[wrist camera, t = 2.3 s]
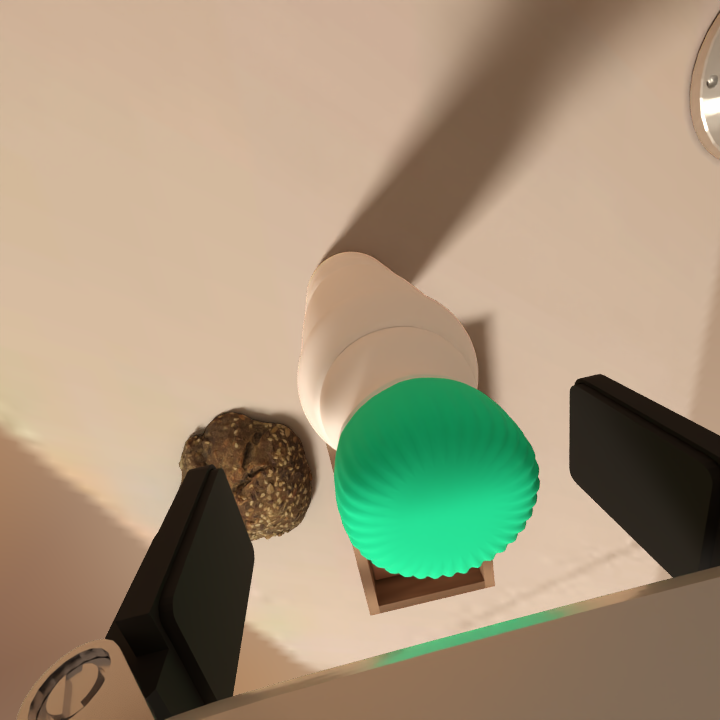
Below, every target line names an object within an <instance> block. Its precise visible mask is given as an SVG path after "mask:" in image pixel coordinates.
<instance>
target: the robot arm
mask: <svg viewBox="0 0 720 720" xmlns="http://www.w3.org/2000/svg"><path fill="white" fill-rule="evenodd" d="M690 111H691V116H692V121H693V126H694V129H695V131H696V133H697V136H698V138H699V140H700V142H701V143H702V144H703V146H704V147H705V149H706V150H707V151H708V152H709V153H710V154H712V155H713V156H714V157H715V158H717V159H719V160H720V14H719V15H718V16H717V18H716V20H715V21H714V23H713V25H712V26H711V28H710V30H709V31H708V33H707V35H706V37H705V40H704V42H703V44H702V46H701V49H700V51H699V53H698V57H697V60H696V64H695V67H694V71H693V75H692V82H691V89H690ZM569 468H570V473H571V476H572V478H573V480H574V481H575V482H576V483H577V484H578V485H579V486H580V487H581V488H582V489H583V490H584V491H585V492H586V493H587V494H588V495H589V496H590V497H591V498H592V499H593V500H594V501H595V502H596V503H597V504H598V505H599V506H600V507H601V508H602V509H603V510H604V511H605V512H606V513H607V514H608V515H609V516H610V517H611V518H613V519H614V520H615V521H616V522H617V523H618V524H619V525H620V526H621V527H622V528H623V529H624V530H625V531H626V532H627V533H628V534H629V535H630V536H631V537H632V538H633V539H634V540H635V541H636V542H637V543H638V544H639V545H640V546H641V547H642V548H643V549H644V550H645V551H646V552H647V553H648V554H649V555H650V556H651V557H652V558H653V559H654V560H656V561H657V562H658V563H659V564H660V565H661V566H662V567H663V568H664V569H665V570H666V571H667V572H668V573H669V574H670V575H671V576H672V577H673V578H671V579H667V580H663V581H659V582H655V583H651V584H647V585H643V586H640V587H636V588H632V589H628V590H624V591H620V592H616V593H612V594H608V595H605V596H601V597H597V598H593V599H589V600H585V601H581V602H578V603H574V604H570V605H566V606H562V607H559V608H555V609H551V610H547V611H543V612H540V613H536V614H532V615H528V616H524V617H521V618H517V619H513V620H509V621H505V622H502V623H498V624H494V625H490V626H487V627H483V628H479V629H475V630H472V631H468V632H464V633H460V634H456V635H453V636H449V637H445V638H441V639H438V640H434V641H430V642H426V643H423V644H419V645H415V646H412V647H408V648H404V649H401V650H397V651H393V652H390V653H386V654H382V655H378V656H375V657H371V658H367V659H364V660H360V661H356V662H353V663H349V664H345V665H342V666H338V667H334V668H330V669H327V670H323V671H319V672H316V673H312V674H308V675H305V676H301V677H298V678H295V679H291V680H287V681H284V682H281V683H277V684H274V685H271V686H267V687H263V688H260V689H256V690H253V691H250V692H246V693H243V694H239V695H236V696H233V691H234V685H235V679H236V673H237V666H238V660H239V653H240V648H241V641H242V635H243V629H244V622H245V616H246V610H247V604H248V597H249V591H250V585H251V579H252V572H253V566H254V549H253V546H252V543H251V540H250V538H249V535H248V532H247V530H246V527H245V524H244V522H243V519H242V517H241V514H240V511H239V509H238V506H237V503H236V501H235V498H234V495H233V493H232V490H231V488H230V485H229V482H228V480H227V477H226V474H225V472H224V470H223V469H222V468H219V469H216V467H215V466H214V465H213V464H211V465H206V466H202V467H198V468H194V469H190V470H189V471H188V472H187V474H186V476H185V478H184V480H183V482H182V484H181V486H180V488H179V490H178V492H177V494H176V496H175V499H174V501H173V503H172V505H171V507H170V509H169V511H168V513H167V515H166V517H165V519H164V521H163V523H162V525H161V527H160V530H159V532H158V533H157V534H156V536H155V537H154V539H153V541H152V543H151V545H150V547H149V549H148V551H147V554H146V556H145V558H144V560H143V562H142V564H141V566H140V568H139V570H138V572H137V574H136V576H135V578H134V580H133V582H132V584H131V586H130V588H129V590H128V592H127V594H126V597H125V598H124V601H123V603H122V605H121V607H120V609H119V611H118V613H117V615H116V617H115V619H114V621H113V623H112V625H111V627H110V629H109V631H108V633H107V635H106V637H105V639H99V640H93V641H90V642H88V643H86V644H83V645H81V646H78V647H77V648H75V649H73V650H72V651H70V652H69V653H67V654H66V655H64V656H63V657H61V658H60V659H59V660H58V661H57V662H56V663H54V665H52V666H51V667H50V668H49V669H48V670H47V671H46V672H45V673H44V674H43V675H42V676H41V677H40V678H39V680H38V681H37V682H36V683H35V684H34V685H33V687H32V689H31V690H30V691H29V693H28V695H27V696H26V698H25V699H24V701H23V703H22V705H21V708H20V710H19V713H18V715H17V720H720V436H719V435H717V434H715V433H714V432H711V431H710V430H708V429H706V428H704V427H702V426H700V425H698V424H696V423H694V422H692V421H691V420H689V419H687V418H685V417H683V416H681V415H679V414H677V413H675V412H673V411H671V410H669V409H667V408H666V407H664V406H662V405H660V404H658V403H656V402H654V401H652V400H650V399H648V398H646V397H644V396H643V395H641V394H639V393H637V392H635V391H633V390H631V389H629V388H627V387H625V386H623V385H621V384H620V383H618V382H616V381H614V380H612V379H610V378H608V377H606V376H604V375H601V374H598V375H593V376H589V377H585V378H580V379H578V380H576V382H575V385H574V386H572V387H571V389H570V449H569Z"/></svg>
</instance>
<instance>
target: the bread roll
mask: <svg viewBox="0 0 720 720" xmlns="http://www.w3.org/2000/svg"><path fill="white" fill-rule="evenodd" d="M304 454H305V453H304V451H303V448H302V443H301V441H300V440H299V438H298V437H297V436H296V435H295V434H294V432H293V431H292V430H290V429H289V428H288V427H286V426H284V425H282V424H277V423H264V422H259V421H256V420H251V419H250V418H248V417H247V416H245V415H242V414H238V413H233V412H229V413H225V414H222V415H220V416H218V417H216V418H215V419H214V420H213V421H212V422H211V423H210V424H209V425H208V426H207V428H206V430H205V432H204V434H203V435H201V436H198V435H196V436H194V437H191V438H189V439H188V440H187V441H186V442H185V446H184V450H183V452H182V456H181V460H180V462H179V467H180V469H181V471H182V481H181V484H182V482H183V480H184V478H185V476H186V474H187V472H188V471H189V470H190V469H194V468H198V467H202V466H206V465H211V464H213V465H214V466H215V467H216V469H219V468H222V469H223V470H224V472H225V474H226V477H227V480H228V482H229V485H230V488H231V490H232V493H233V495H234V498H235V501H236V503H237V506H238V509H239V511H240V514H241V517H242V519H243V522H244V524H245V527H246V530H247V532H248V535H249V538H250V540H251V541H253V540H257V539H259V538H262V537H265V538H266V539H267V540H268V539H269V538H271V537H272V536H276V535H278V536H282V534H284V532H287V533H288V532H289V531H291V530H292V529H294V528H295V527H297V526H298V525H299V524H300V523H301V522H302V520H303V519H304V516H305V514H306V512H307V509H308V507H309V504H310V501H311V498H310V497H311V486H310V481H311V480H312V474H311V473H310V469H309V467H308V463H307V461H306V459H305V456H304ZM180 486H181V485H180ZM179 488H180V487H179Z"/></svg>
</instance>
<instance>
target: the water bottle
mask: <svg viewBox="0 0 720 720" xmlns="http://www.w3.org/2000/svg"><path fill="white" fill-rule="evenodd" d="M297 383H298V393H299V397H300V402H301V405H302V408H303V410H304V413H305V415H306V417H307V419H308V421H309V422H310V424H311V426H312V427H313V429H314V430H315V431H316V432H317V434H318V435H319V436H320V437H321V438H322V439H323V440H324V441H325V442H326V443H327V444H328V445H329V446H331V447H332V448H333V449H335V450H336V456H335V467H334V481H335V492H336V501H337V506H338V510H339V513H340V515H341V519H342V524H343V526H344V528H345V531H346V532H347V534H348V536H349V538H350V541H351V543H352V544H353V546H354V547H356V548H357V549H359V551H360V553H361V555H362V556H363V557H365V558H366V559H368V560H371V561H372V563H373V564H374V565H376V566H377V567H379V568H385V570H386V571H388V572H389V573H391V574H397V573H400V574H401V575H402V576H404V577H411V576H415V577H417V578H418V579H424V578H425V577H427V576H429V577H431V578H433V579H437V578H439V577H440V576H442V575H445V576H447V577H452V576H453V575H454V574H455V573H457V572H459V573H462V574H465V573H467V572H468V570H469V569H470V568H471V567H475V568H479V567H480V566H481V565H482V563H483V561H491V560H493V559H494V557H495V554H496V553H501V552H504V551H505V550H506V547H507V544H509V543H512V542H514V541H515V540H516V538H517V535H518V533H519V532H521V531H522V530H524V529H525V526H526V520H528V519H529V518H530V517H531V516H532V511H533V509H532V507H533V506H534V505H535V504H536V502H537V494H536V493H537V491H538V490H539V485H540V480H539V478H538V474H539V466H538V464H537V462H536V459H535V453H534V451H533V448H532V446H531V444H530V443H529V442H528V440H527V439H526V437H525V436H524V434H523V432H522V431H521V430H520V428H519V427H518V426H517V424H516V423H515V422H514V421H513V420H512V419H511V418H510V417H509V416H508V414H507V413H506V412H505V411H504V410H503V409H502V408H501V407H500V406H499V405H498V404H497V403H495V402H494V401H493V400H492V399H491V398H489V397H488V396H487V395H485V394H484V393H482V392H481V391H479V390H477V388H478V364H477V358H476V353H475V350H474V347H473V344H472V341H471V339H470V337H469V335H468V333H467V332H466V330H465V328H464V327H463V325H462V324H461V323H460V321H459V320H458V319H457V318H456V317H455V316H454V315H453V314H452V313H451V312H450V311H449V310H448V309H447V308H446V307H444V306H443V305H442V304H440V303H439V302H437V301H435V300H434V299H432V298H430V297H428V296H426V295H424V294H423V293H422V292H421V291H420V290H418V289H417V288H416V287H415V286H413V285H412V284H411V283H409V282H408V281H406V280H405V279H403V278H402V277H400V276H398V275H397V274H395V273H394V272H392V271H391V270H390V269H389V268H388V267H386V266H385V265H383V264H382V263H381V262H379V261H378V260H377V259H375V258H373V257H372V256H369V255H367V254H364V253H360V252H343V253H339V254H336V255H333V256H331V257H329V258H328V259H326V260H325V261H323V262H322V263H321V264H320V265H319V266H318V267H317V269H316V270H315V271H314V273H313V274H312V276H311V278H310V281H309V284H308V288H307V295H306V307H305V318H304V324H303V333H302V352H301V355H300V359H299V364H298V373H297Z"/></svg>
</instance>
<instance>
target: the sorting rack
mask: <svg viewBox="0 0 720 720" xmlns="http://www.w3.org/2000/svg"><path fill="white" fill-rule="evenodd" d="M477 390H478V388H477ZM326 445H327V449H328V452H329V456H330V460H331V464H332V468H333V472H334V467H335V456H336V450H335V449H333V448H332V447H331V446H329V445H328V444H327V443H326ZM352 545H353V544H352ZM353 549H354V553H355V557H356V561H357V565H358V569H359V572H360V576H361V580H362V584H363V588H364V592H365V596H366V600H367V603H368V607H369V611H370V615H375V614H379V613H383V612H388V611H392V610H396V609H400V608H404V607H408V606H413V605H417V604H421V603H425V602H429V601H434V600H438V599H442V598H446V597H450V596H454V595H459V594H463V593H467V592H471V591H475V590H479V589H484V588H488V587H492V586H495V582H494V571H493V560H491V561H483V563H482V565H481V566H480V567H479V568H475V567H471V568H470V569H469V570H468V572H467V573H465V574H462V573H459V572H457V573H455V574H454V575H453V576H452V577H447V576H445V575H442V576H440V577H439V578H437V579H433V578H431V577H429V576H427V577H425V578H424V579H418V578H417V577H415V576H411V577H404V576H402V575H401V574H400V573H397V574H391V573H389V572H388V571H386V570H385V568H379V567H377V566H376V565H374V564H373V563H372V561H371V560H368V559H366V558H365V557H363V556H362V555H361V553H360V551H359V549H357V548H356V547H354V546H353Z"/></svg>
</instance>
